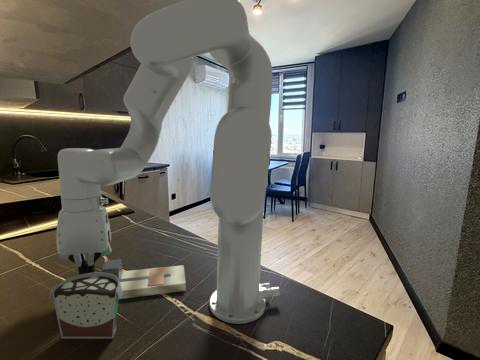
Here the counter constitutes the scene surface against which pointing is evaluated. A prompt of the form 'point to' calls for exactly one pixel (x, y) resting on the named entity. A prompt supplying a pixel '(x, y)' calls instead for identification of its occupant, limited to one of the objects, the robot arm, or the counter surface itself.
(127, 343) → the counter surface
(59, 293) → the food container
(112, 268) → the fader tab
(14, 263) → the counter surface
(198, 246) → the counter surface
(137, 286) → the fader console
